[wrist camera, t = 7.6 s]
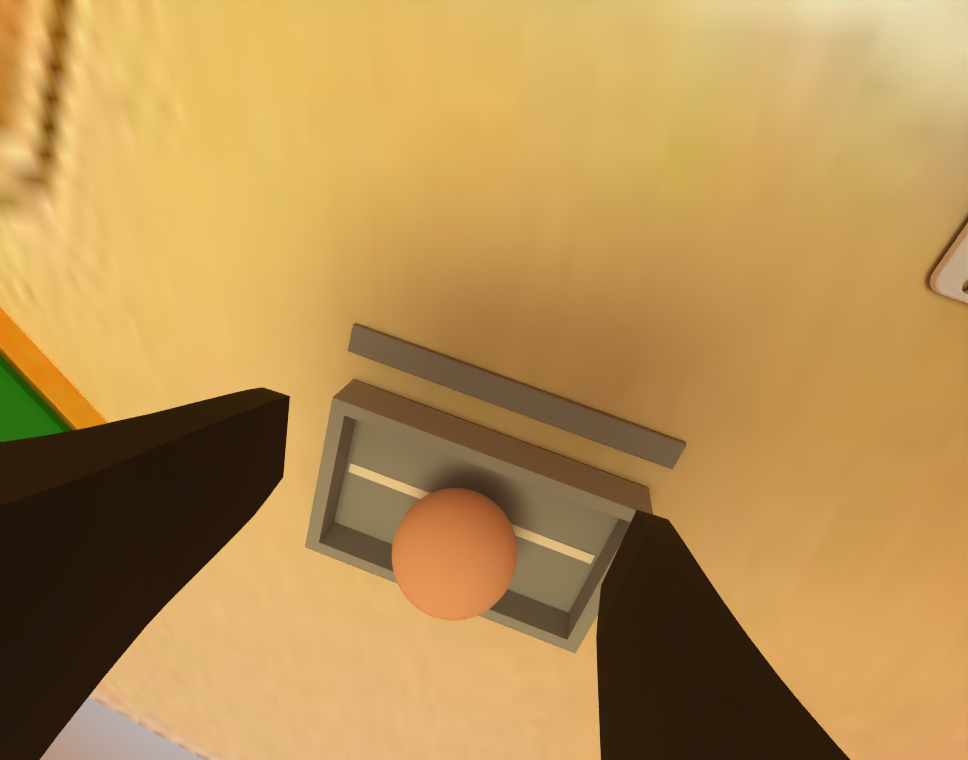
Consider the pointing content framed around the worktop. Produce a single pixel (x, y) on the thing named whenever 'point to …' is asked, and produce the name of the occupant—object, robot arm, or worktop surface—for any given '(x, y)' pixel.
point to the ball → (454, 554)
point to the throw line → (516, 396)
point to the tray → (487, 470)
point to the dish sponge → (36, 391)
